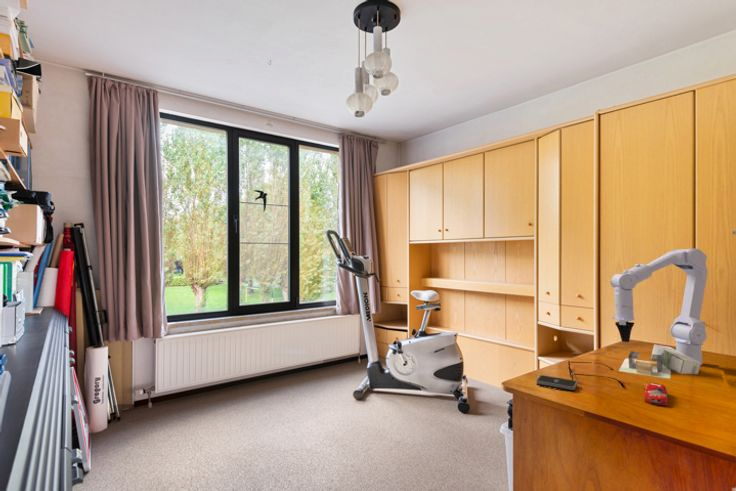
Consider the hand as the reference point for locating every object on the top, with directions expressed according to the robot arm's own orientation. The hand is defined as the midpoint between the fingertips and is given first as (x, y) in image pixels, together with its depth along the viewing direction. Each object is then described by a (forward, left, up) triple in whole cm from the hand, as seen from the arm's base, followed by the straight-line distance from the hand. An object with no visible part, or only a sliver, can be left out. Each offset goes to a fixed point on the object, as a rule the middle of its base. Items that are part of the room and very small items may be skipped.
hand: (625, 341), depth 138 cm
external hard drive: (+38, -15, -10) cm, 42 cm away
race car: (+32, +10, -10) cm, 35 cm away
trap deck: (+3, +6, -9) cm, 12 cm away
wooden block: (+10, +6, -8) cm, 14 cm away
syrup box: (+3, +18, -6) cm, 20 cm away
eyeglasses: (+22, -7, -10) cm, 25 cm away
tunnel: (+4, +6, -8) cm, 11 cm away
